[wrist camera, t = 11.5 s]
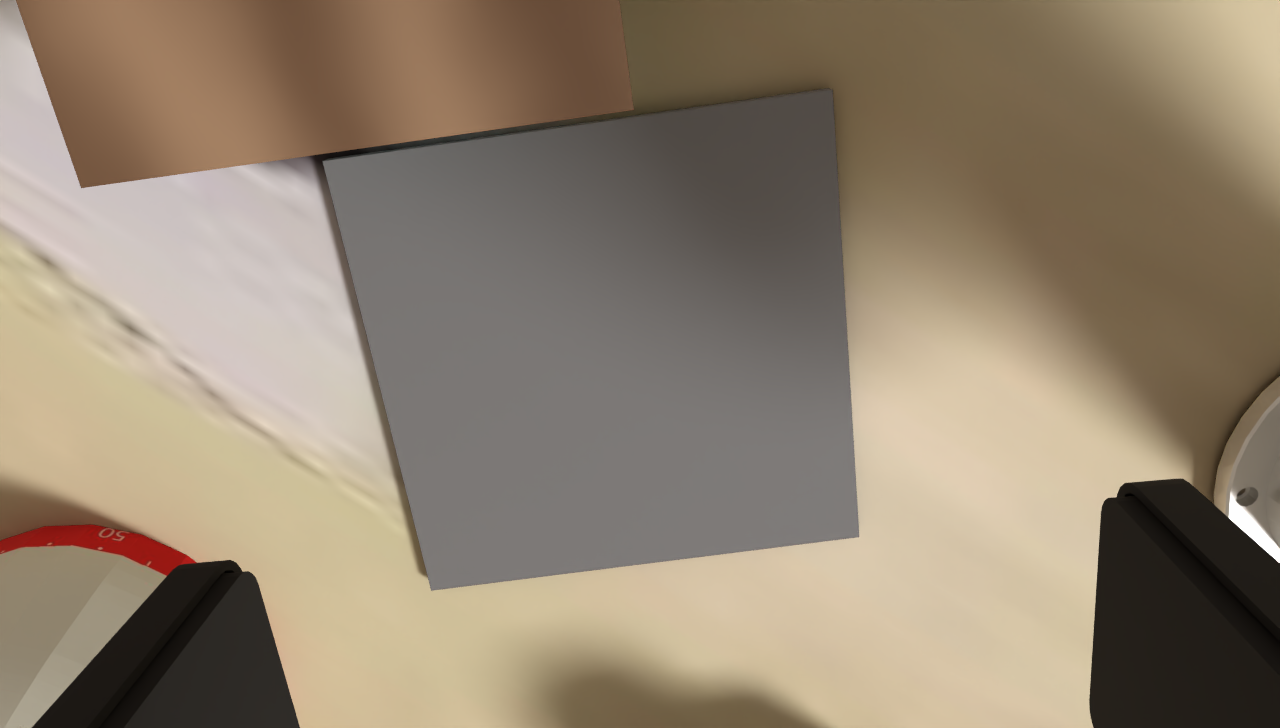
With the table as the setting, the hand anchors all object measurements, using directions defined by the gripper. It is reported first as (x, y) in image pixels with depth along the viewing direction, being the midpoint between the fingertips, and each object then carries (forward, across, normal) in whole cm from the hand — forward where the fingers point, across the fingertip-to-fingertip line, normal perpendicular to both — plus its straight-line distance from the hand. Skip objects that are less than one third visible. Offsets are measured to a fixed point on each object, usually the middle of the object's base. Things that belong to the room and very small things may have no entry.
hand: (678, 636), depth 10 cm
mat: (+26, +3, +6) cm, 26 cm away
